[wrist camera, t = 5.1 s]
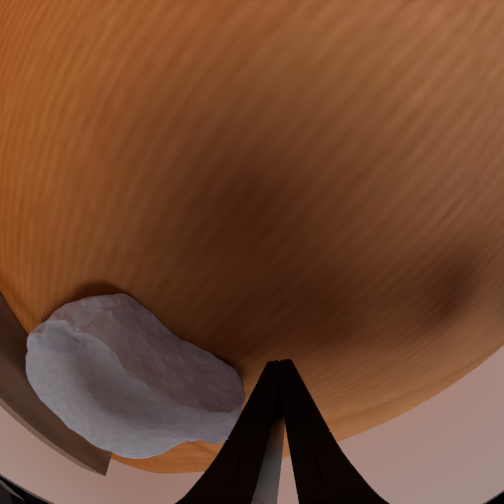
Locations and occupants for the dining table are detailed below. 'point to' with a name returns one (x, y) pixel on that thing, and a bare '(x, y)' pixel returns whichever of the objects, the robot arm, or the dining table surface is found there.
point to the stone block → (130, 379)
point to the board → (38, 401)
